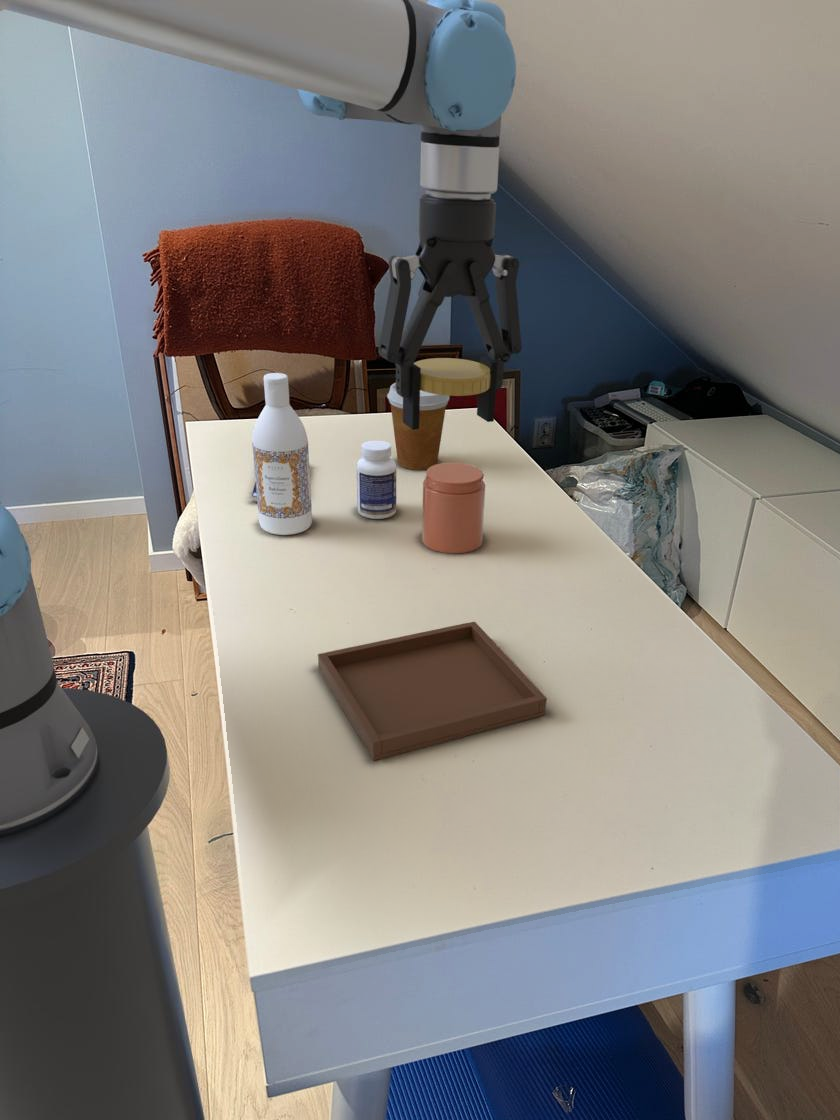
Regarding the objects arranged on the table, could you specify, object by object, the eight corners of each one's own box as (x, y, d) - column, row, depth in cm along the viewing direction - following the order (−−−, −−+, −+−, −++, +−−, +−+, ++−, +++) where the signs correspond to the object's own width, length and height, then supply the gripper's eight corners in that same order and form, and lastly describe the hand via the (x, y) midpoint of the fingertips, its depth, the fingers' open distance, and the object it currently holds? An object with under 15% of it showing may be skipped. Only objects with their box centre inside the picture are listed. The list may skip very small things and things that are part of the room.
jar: (436, 557, 114) (438, 487, 109) (412, 532, 120) (413, 465, 115) (492, 548, 117) (496, 479, 112) (466, 524, 123) (469, 458, 118)
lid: (398, 377, 98) (398, 360, 97) (467, 371, 102) (468, 355, 101) (431, 398, 92) (431, 381, 91) (504, 392, 95) (505, 375, 94)
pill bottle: (402, 516, 124) (402, 449, 119) (366, 522, 122) (364, 453, 117) (387, 502, 128) (387, 436, 123) (352, 507, 126) (350, 440, 121)
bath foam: (253, 534, 117) (239, 381, 106) (266, 513, 123) (254, 366, 112) (306, 538, 117) (297, 385, 106) (316, 516, 123) (309, 370, 112)
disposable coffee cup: (375, 460, 142) (374, 385, 136) (421, 448, 148) (422, 376, 142) (413, 478, 136) (413, 400, 130) (459, 465, 142) (462, 390, 136)
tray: (373, 760, 79) (373, 743, 78) (318, 670, 90) (317, 653, 89) (545, 715, 86) (547, 698, 85) (473, 636, 98) (474, 621, 97)
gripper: (532, 192, 94) (515, 404, 106) (341, 188, 85) (346, 420, 97) (570, 200, 89) (548, 423, 100) (370, 197, 80) (371, 442, 91)
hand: (448, 421), depth 99 cm, fingers closed on lid, 8 cm apart
